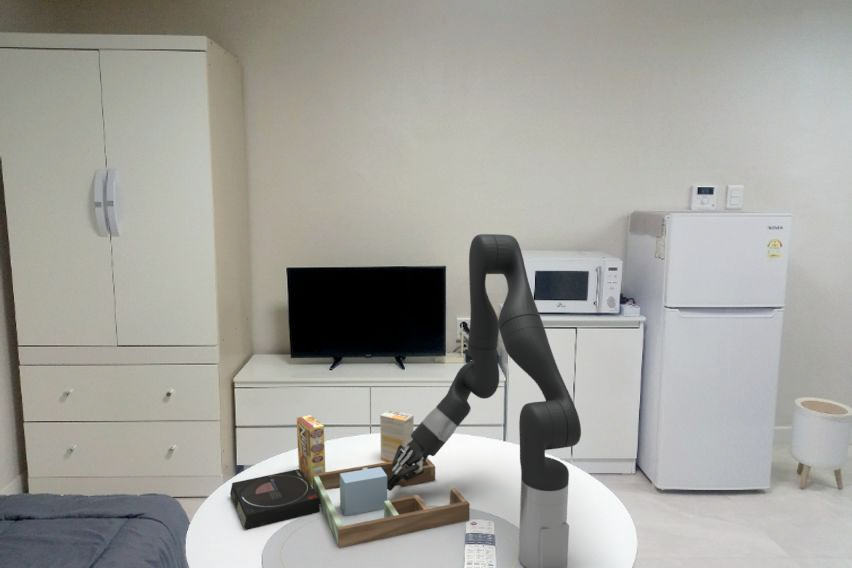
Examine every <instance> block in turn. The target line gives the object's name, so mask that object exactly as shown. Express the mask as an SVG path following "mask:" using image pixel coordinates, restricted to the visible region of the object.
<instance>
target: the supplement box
mask: <svg viewBox="0 0 852 568" xmlns="http://www.w3.org/2000/svg"><path fill="white" fill-rule="evenodd" d="M379 416H380V417H379V420H380V421H379V422H380V423H379V424H380V460H381V459H382V460H381V461H384V462H390V461H393V460H394V457H395V455H396V452H397V449H398V447H399V446H400V445H402V446H403V447H405V446H407V444H408V443H409V442H411V441H412V440H413V439H412V438H411V434H412V433H413V431H414V430H415V428H414V426H415V425H414V417H415V416H414V415H413V414H409V413H404V412H401V411H395V410H391V409H389V410H387V411H385V412H383V413H382V414H380V415H379Z"/></svg>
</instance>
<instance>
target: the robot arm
mask: <svg viewBox="0 0 852 568" xmlns="http://www.w3.org/2000/svg"><path fill="white" fill-rule="evenodd" d="M468 255H469V256H468V272H469V273H468V274H469V275H468V277H469V281H468V282H469V300H470V321H469V331H468V332H469V333H468V343H467V352H468V354H469V356H470V357H471V359H472V361H469V362H467V363H465V364H464V365H463V366H461V368H459V370H458V372H457V373H456V376H455V377H454V378H453V381H452V383H451V385H450V387H449V389H448V390H447V393H446V394H445V396H444V397H443V398H442V399H441V400H440V401H439V403H438V404H437V405H436V407H434V408H433V409H432V410H431V411H430V412H429V413H428V414H427V415H425V417H424V419H423V420H422V421H421V422H420V423H419V424H418V426H417V427H416V428H414V431H413V433H412V434H411V438H412V439H413V440H412V441H411V442H409V443H408V444H407V446H405V447H403V446H402V445H400V446H399V447H398V449H397V452H396V455H395V457H394V460H393V462H392V466H393V469H392V471H393V472H392V473H391V474H390V475H389V476H388V477H387V491H389V492H390V491H392V490H394V488H395V486H396V484H397V483H398V482H399V481H400V480H403V479H404V480H405V481H408V480H410V479H412V478H414V477H416V476H418V475H421V474H423V473H424V469H423V468H422V465H423V463H424V462H425V461H426V459H427V458H428V457H429V456H431V457H434V456H436V454H437V453H438V452H439V451H440V450H441V449H442V447H443V446H444V445H445V444H446V443H447V441H448V440H449V439H450V438H451V437H452V435H453V434H454V433H455V431H456V430H457V428H458V427H459V426H460V425H461V423H462V422H463V421H464V420H465V419H466V418H467V416H468V415H469V413H470V412H471V406H470V403H469V402H468V400H469V398H470V397H469V396H470V395H471V393H472V394H473V395H475V396H476V397H477V398H479V399H489V398H491V397H492V396H493V395H495V394H496V392H497V389H498V388H499V383H500V372H499V371H500V369H499V361H498V356H497V348H498V340H499V333H500V336H501V339H502V343H503V346H504V348H505V351H506V353H507V355H508V356H509V357H510V359H512V361H513V362H514V363H515V364H516V365H517V366H518V367H519V368H520V369H522V371H523V372H525V374H527V375H528V377H530V378H531V380H533V382H535V383H536V385H537V386H538V388H539V389H540V391H541V394H542V395H543V398H544V401H534V402H528V403H525V404H523V406H522V407H521V410H520V413H519V423H518V424H519V425H518V426H519V427H518V428H519V431H518V432H519V462H520V463H519V464H520V471H521V472H520V473H521V474H520V476H521V477H520V481H521V482H520V498H519V499H520V504H519V527H518V528H519V532H518V533H519V535H518V561H519V563H520V564H521V565H522V566H523V567H525V568H568V557H569V535H570V525H569V523H568V522H567V521H568V499H569V498H568V497H569V484H570V483H569V480H570V479H569V477H570V473H569V469H568V466H566V464H564V463H563V462H561V461H560V460H557V459H555V458H553V457H549V456H546V451H548V450H556V449H565V448H571V447H574V446H576V445H578V443H579V442H580V440H581V436H582V426H581V421H580V418H579V413H578V411H577V408H576V406H575V404H574V401H573V400H572V397H571V394H570V393H569V390H568V388H567V386H566V384H565V382H564V380H563V377H562V375H561V372H560V370H559V368H558V366H557V365H558V364H557V363H556V359H555V357H554V353H553V352H552V348H551V345H550V342H549V339H548V336H547V331H546V330H545V326H544V324H543V320H542V318H541V315H540V313H539V310H538V307H537V304H536V301H535V299H534V296H533V293H532V289H531V286H530V283H529V279H528V275H527V270H526V269H527V268H526V265H525V262H524V257H523V252H522V250H521V247H520V244H519V242H518V240H517V238H516V237H514V236H512V235H510V234H496V233H495V234H493V233H492V234H491V233H490V234H488V233H483V234H482V233H481V234H476V235H475V236H473V238H472V240H471V243H470V247H469V254H468ZM487 275H503V276H504V277H505V280H506V283H507V294H506V297H505V301H504V302H503V304H502V307H501V310H500V312H499V315H497V313H496V311H495V309H494V307H493V305H492V302H491V300H490V298H489V295H488V293H487V288H486V278H487ZM498 316H499V317H498ZM408 474H409V475H408ZM396 487H397V486H396Z"/></svg>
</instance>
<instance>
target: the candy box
mask: <svg viewBox="0 0 852 568" xmlns="http://www.w3.org/2000/svg"><path fill="white" fill-rule="evenodd" d="M296 431H297V432H296V433H297V434H296V435H297V457H298V469H300V471H301V472H302V474H303V475H304V476H305V478H306V479H307V481H308V482H309V484H310V485H311V486H312V487H313V474H319V473H325V472H326V453H325V452H326V450H325V425H324V424H323V423H321V422H319V420H317V419H316V418H315V417H314V416H313V415H309V414H308V415H306V416H305V415H304V416H301V417H297V418H296Z"/></svg>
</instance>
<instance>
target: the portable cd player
mask: <svg viewBox="0 0 852 568" xmlns="http://www.w3.org/2000/svg"><path fill="white" fill-rule="evenodd" d="M230 488H231V489H230V492H229V495H230V497H231V499H232V501H233V504H234V506H235V508H236V512H237V514H238V516H239V518H240V521H241V523H242V525H243V527H244V528H245V530H246V531H248V530H253V529H256V528H260V527H265V526H268V525H272V524H277V523H281V522H285V521H289V520H294V519H298V518H302V517H305V516H310V515H314V514H318V513H320V511H321V509H320V508H321V506H320V498H319V496H318V495H317V494H316V492H315V491H314V489H313V486H311V485H310V484H309V482H308V481H307V479H306V478H305V476H304V475H303V474H302V472H301V471H300V469H299V468H297V469H292V470H287V471H283V472H278V473H274V474H269V475H268V474H267V475H264V476H258V477H254V478H249V479H245V480H244V479H243V480H240V481H235V482H232V483H231V487H230Z"/></svg>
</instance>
